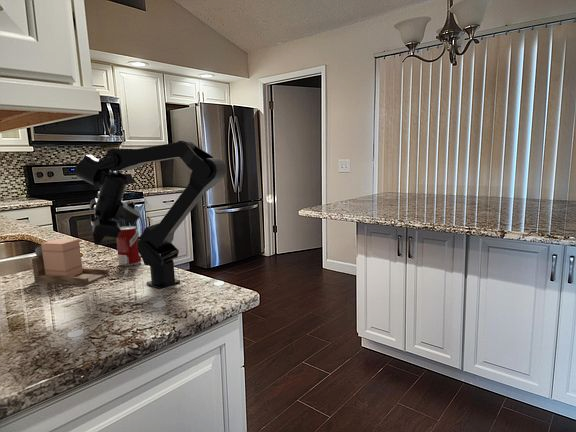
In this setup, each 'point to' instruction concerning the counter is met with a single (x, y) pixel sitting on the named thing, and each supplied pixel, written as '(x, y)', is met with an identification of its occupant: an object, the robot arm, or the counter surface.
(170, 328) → the counter surface
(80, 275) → the bay
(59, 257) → the pink box
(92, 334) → the counter surface
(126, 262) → the soda can
